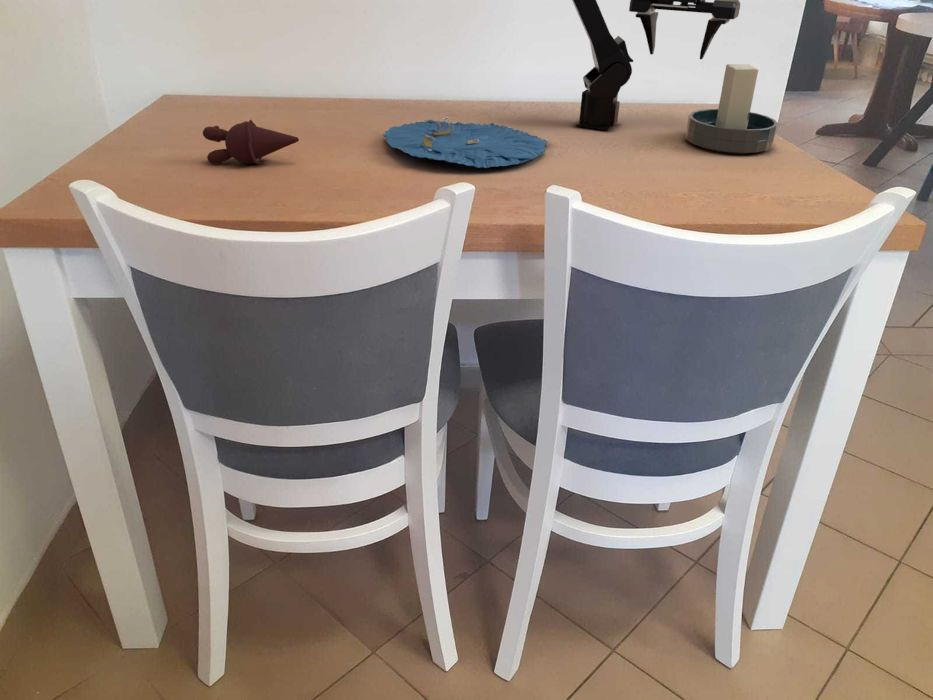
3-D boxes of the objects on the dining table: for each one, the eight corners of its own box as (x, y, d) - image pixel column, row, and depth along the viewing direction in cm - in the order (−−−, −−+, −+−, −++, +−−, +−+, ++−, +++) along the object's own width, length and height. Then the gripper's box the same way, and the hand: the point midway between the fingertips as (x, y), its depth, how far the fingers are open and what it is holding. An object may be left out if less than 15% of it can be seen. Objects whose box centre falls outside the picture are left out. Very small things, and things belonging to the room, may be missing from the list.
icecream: (300, 116, 120) (208, 123, 120) (290, 115, 113) (193, 123, 113) (306, 160, 122) (215, 167, 122) (297, 162, 115) (201, 169, 115)
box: (744, 144, 132) (760, 69, 126) (719, 144, 132) (734, 68, 126) (735, 136, 137) (750, 63, 130) (711, 136, 137) (725, 63, 130)
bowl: (676, 148, 132) (681, 122, 129) (694, 128, 143) (698, 105, 141) (765, 161, 126) (771, 134, 124) (776, 140, 138) (782, 115, 136)
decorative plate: (443, 123, 147) (443, 96, 145) (576, 149, 133) (579, 119, 130) (339, 150, 126) (338, 119, 123) (484, 184, 111) (486, 149, 109)
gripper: (752, -38, 132) (734, 55, 140) (650, -43, 139) (638, 46, 147) (743, -34, 124) (724, 64, 132) (634, -40, 130) (622, 54, 139)
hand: (676, 56), depth 137 cm, fingers open, 9 cm apart
